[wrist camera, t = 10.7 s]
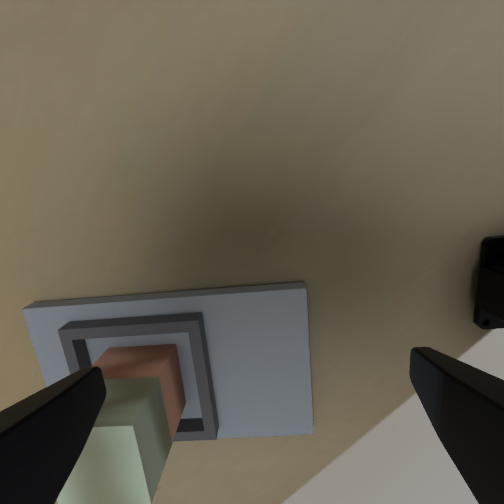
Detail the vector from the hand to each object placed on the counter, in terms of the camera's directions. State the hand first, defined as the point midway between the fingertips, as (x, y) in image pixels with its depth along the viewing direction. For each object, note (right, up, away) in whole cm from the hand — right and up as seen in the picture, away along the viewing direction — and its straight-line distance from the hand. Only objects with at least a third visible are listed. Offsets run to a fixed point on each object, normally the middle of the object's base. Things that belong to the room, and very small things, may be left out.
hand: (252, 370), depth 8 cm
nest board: (-6, -5, +14) cm, 16 cm away
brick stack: (-8, -6, +13) cm, 16 cm away
